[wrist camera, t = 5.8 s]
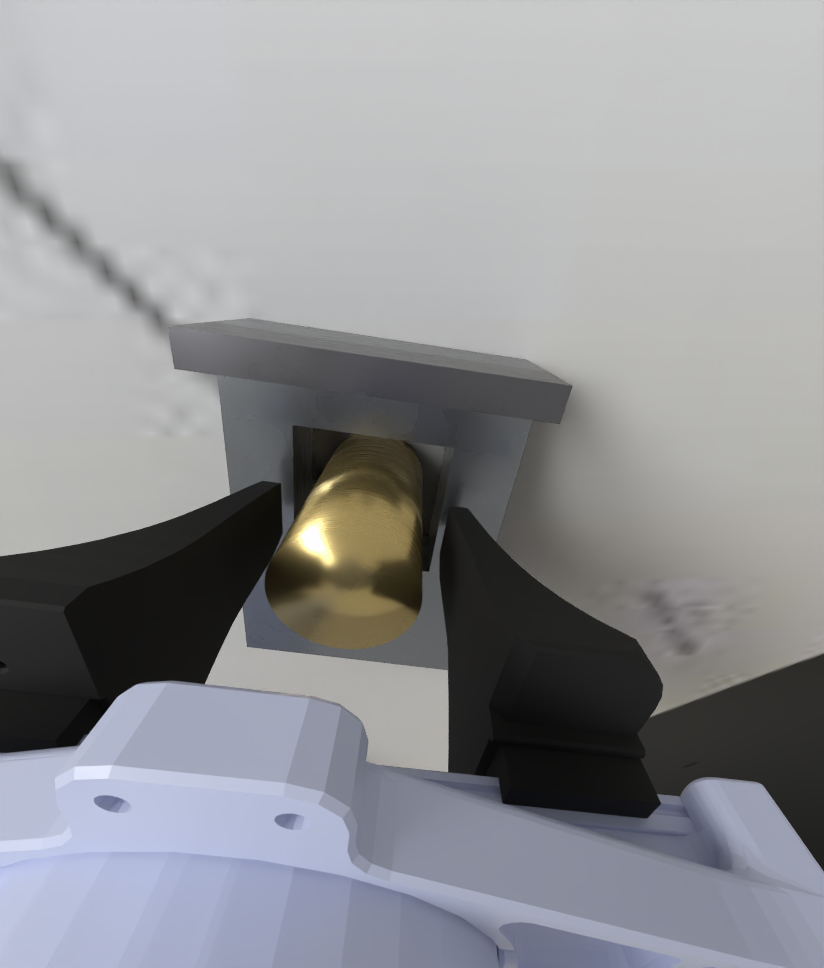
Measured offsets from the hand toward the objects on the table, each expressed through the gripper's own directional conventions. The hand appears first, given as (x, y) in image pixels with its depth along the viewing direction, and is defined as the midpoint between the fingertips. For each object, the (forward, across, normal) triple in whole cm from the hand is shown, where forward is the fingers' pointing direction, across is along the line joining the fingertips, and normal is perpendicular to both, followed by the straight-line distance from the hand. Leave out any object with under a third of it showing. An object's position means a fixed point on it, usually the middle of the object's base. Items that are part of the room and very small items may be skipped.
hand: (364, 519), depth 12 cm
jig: (+3, 0, +2) cm, 4 cm away
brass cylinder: (+3, 0, 0) cm, 3 cm away
